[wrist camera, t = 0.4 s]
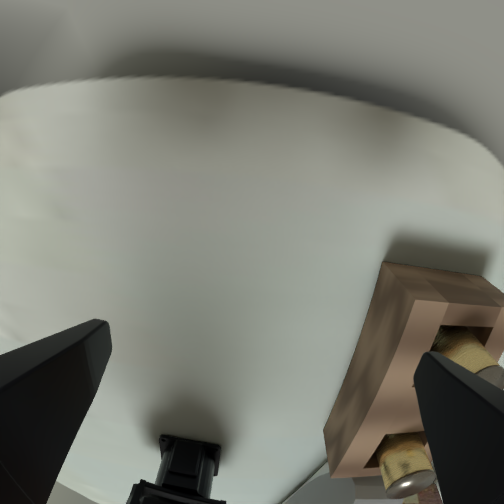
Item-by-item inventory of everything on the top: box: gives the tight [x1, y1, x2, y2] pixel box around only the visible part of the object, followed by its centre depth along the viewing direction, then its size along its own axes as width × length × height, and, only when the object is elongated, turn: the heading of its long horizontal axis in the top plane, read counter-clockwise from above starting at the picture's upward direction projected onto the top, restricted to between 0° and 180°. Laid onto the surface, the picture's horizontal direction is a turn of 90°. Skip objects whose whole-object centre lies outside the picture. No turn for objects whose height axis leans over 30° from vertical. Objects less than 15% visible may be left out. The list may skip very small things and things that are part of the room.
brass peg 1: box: [375, 432, 436, 499], centre depth 20 cm, size 4×4×6 cm
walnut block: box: [323, 262, 504, 478], centre depth 22 cm, size 18×10×6 cm, turn 173°
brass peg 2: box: [429, 325, 504, 390], centre depth 17 cm, size 4×4×6 cm
